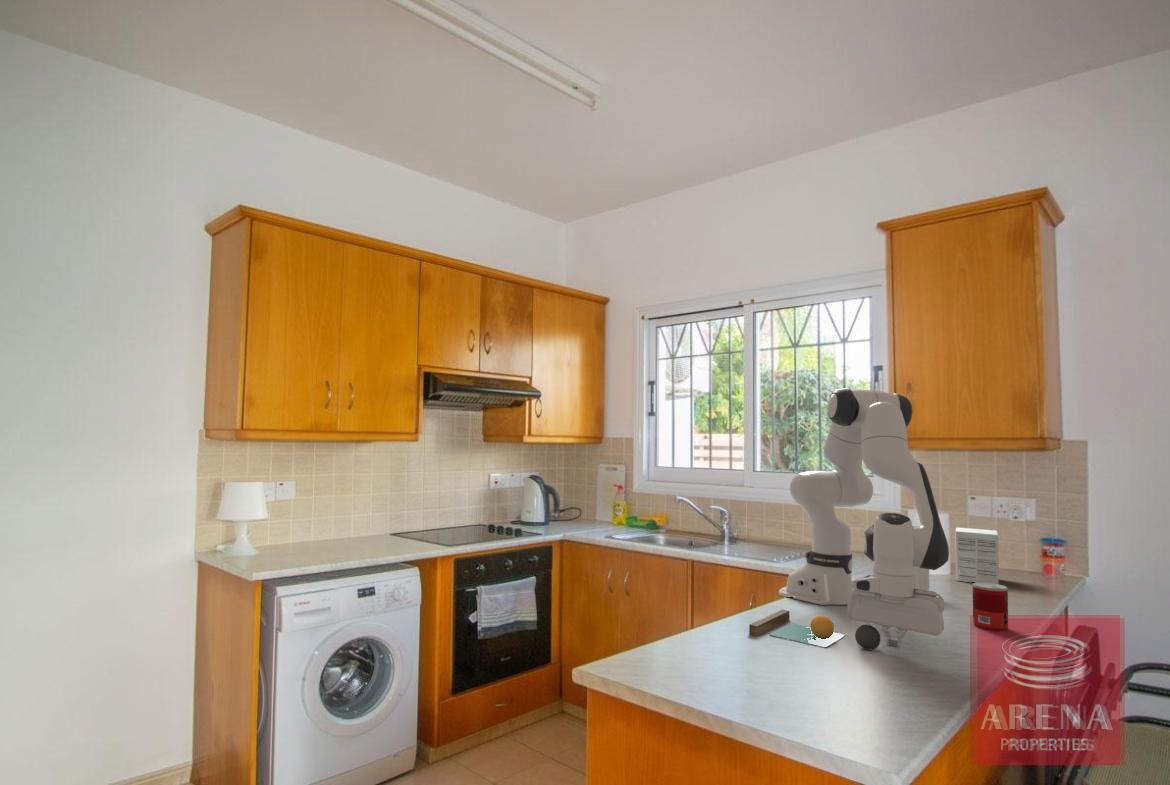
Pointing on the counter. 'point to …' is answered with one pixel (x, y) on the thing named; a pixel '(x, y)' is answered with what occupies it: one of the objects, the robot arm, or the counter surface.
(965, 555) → the supplement box
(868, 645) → the dark grey ball
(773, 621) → the bar
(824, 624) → the orange ball
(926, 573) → the pill bottle
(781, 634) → the teal mark
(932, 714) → the counter surface
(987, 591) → the canned food
